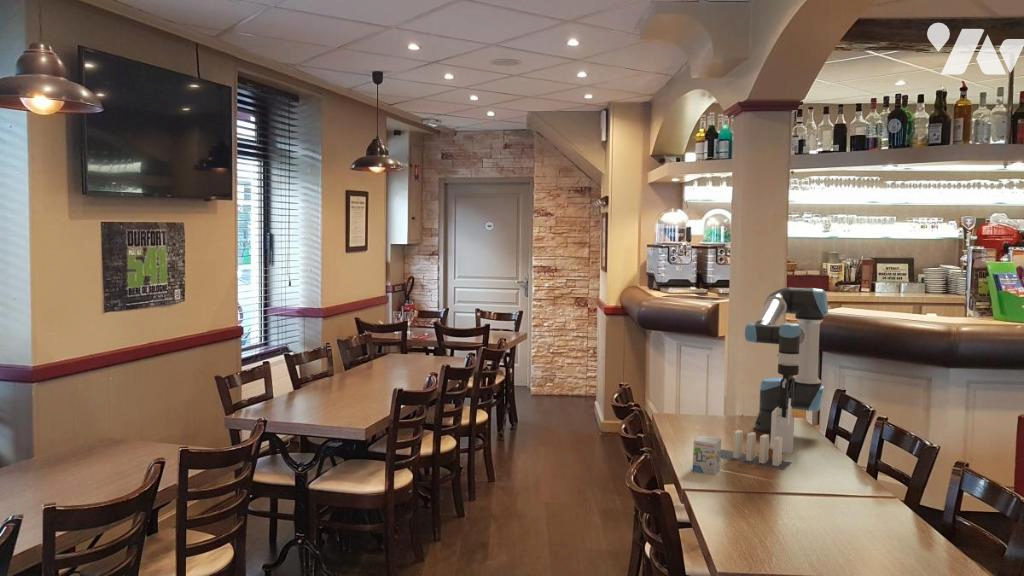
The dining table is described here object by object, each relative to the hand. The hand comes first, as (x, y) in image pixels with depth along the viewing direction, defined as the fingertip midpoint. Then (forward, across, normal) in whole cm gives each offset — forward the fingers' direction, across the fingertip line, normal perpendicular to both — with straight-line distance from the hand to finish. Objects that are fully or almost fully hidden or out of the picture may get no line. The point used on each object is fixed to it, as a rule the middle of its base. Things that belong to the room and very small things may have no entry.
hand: (785, 423), depth 279 cm
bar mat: (+15, +7, -11) cm, 20 cm away
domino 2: (+14, +7, -11) cm, 19 cm away
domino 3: (+14, +7, -6) cm, 17 cm away
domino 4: (+14, +7, -1) cm, 16 cm away
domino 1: (+14, +6, -16) cm, 22 cm away
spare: (0, 0, 0) cm, 0 cm away
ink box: (+15, +29, -21) cm, 39 cm away
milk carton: (+15, -14, -4) cm, 21 cm away
